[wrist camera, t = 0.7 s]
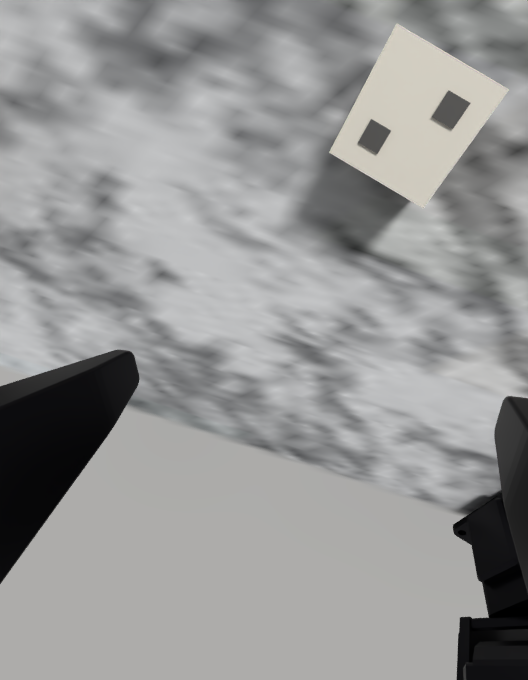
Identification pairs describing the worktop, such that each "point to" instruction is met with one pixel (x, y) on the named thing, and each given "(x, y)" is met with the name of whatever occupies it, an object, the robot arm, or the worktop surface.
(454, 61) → the die
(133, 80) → the worktop surface
